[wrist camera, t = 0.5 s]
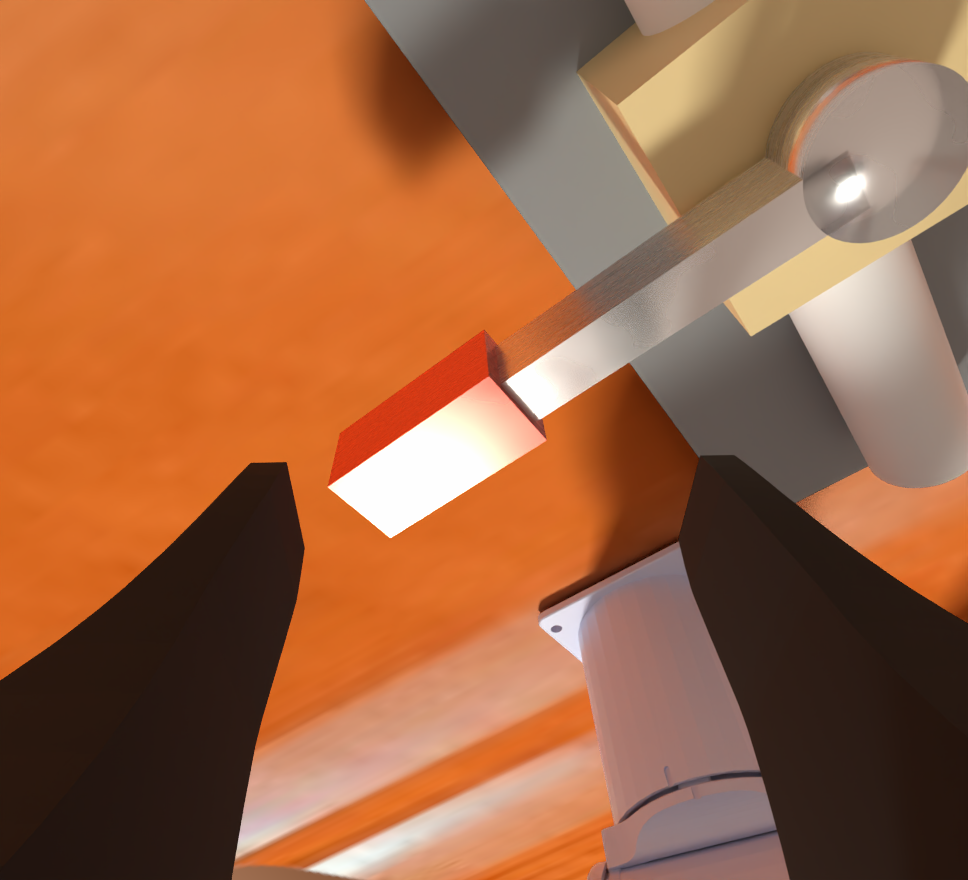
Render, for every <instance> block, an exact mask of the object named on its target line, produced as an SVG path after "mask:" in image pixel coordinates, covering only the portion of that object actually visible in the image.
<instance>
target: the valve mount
mask: <svg viewBox="0 0 968 880" xmlns="http://www.w3.org/2000/svg"><path fill="white" fill-rule="evenodd" d="M365 2H366V3H367V4H368V6H369V7H370V9H371V10H372V11H373V13H374V14H375V15H376V17H377V18H378V19H379V21H380V22H381V24H382V25H383V26H384V28H385V29H386V30H387V32H388V33H389V35H390V36H391V37H392V39H393V40H394V41H395V43H396V44H397V45H398V47H399V48H400V50H401V51H402V52H403V54H404V55H405V56H406V58H407V59H408V60H409V62H410V63H411V65H412V66H413V67H414V69H415V70H416V71H417V73H418V74H419V76H420V77H421V78H422V80H423V81H424V82H425V84H426V85H427V86H428V88H429V89H430V91H431V92H432V93H433V95H434V96H435V97H436V99H437V100H438V102H439V103H440V104H441V106H442V107H443V108H444V110H445V111H446V112H447V114H448V115H449V117H450V118H451V119H452V121H453V122H454V123H455V125H456V126H457V128H458V129H459V130H460V132H461V133H462V134H463V136H464V137H465V138H466V140H467V141H468V143H469V144H470V145H471V147H472V148H473V149H474V151H475V152H476V153H477V155H478V156H479V158H480V159H481V160H482V162H483V163H484V164H485V166H486V167H487V169H488V170H489V171H490V173H491V174H492V175H493V177H494V178H495V179H496V181H497V182H498V184H499V185H500V186H501V188H502V189H503V190H504V192H505V193H506V195H507V196H508V197H509V199H510V200H511V201H512V203H513V204H514V205H515V207H516V208H517V210H518V211H519V212H520V214H521V215H522V216H523V218H524V219H525V220H526V222H527V223H528V225H529V226H530V227H531V229H532V230H533V231H534V233H535V234H536V236H537V237H538V238H539V240H540V241H541V242H542V244H543V245H544V246H545V248H546V249H547V251H548V252H549V253H550V255H551V256H552V257H553V259H554V260H555V262H556V263H557V264H558V266H559V267H560V268H561V270H562V271H563V272H564V274H565V275H566V277H567V278H568V279H569V281H570V282H571V283H572V285H573V286H574V287H575V289H576V290H577V289H578V288H580V287H581V286H582V285H584V284H585V283H587V282H588V281H590V280H591V279H592V278H594V277H595V276H597V275H598V274H600V273H601V272H602V271H604V270H605V269H607V268H608V267H610V266H611V265H612V264H614V263H615V262H617V261H618V260H619V259H621V258H622V257H624V256H625V255H627V254H628V253H629V252H631V251H632V250H634V249H635V248H637V247H638V246H639V245H641V244H642V243H644V242H645V241H646V240H648V239H649V238H651V237H652V236H654V235H655V234H656V233H658V232H659V231H661V230H662V229H664V228H665V227H666V226H668V225H669V224H671V223H672V222H673V221H675V220H676V219H678V218H679V217H681V216H682V215H683V214H685V213H686V212H688V211H689V210H691V209H692V208H693V207H695V206H696V205H698V204H699V203H700V202H702V201H703V200H705V199H706V198H708V197H709V196H710V195H712V194H713V193H715V192H716V191H718V190H719V189H720V188H722V187H723V186H725V185H726V184H727V183H729V182H730V181H732V180H733V179H735V178H736V177H737V176H739V175H740V174H742V173H743V172H745V171H746V170H747V169H749V168H750V167H752V166H753V165H754V164H756V163H757V162H759V161H760V160H762V159H763V158H764V157H765V153H766V146H767V140H768V137H769V133H770V130H771V128H772V125H773V123H774V120H775V118H776V116H777V114H778V113H779V111H780V109H781V107H782V106H783V104H784V103H785V101H786V100H787V98H788V97H789V96H790V95H791V93H792V92H793V91H794V90H795V89H796V87H797V86H798V85H799V84H800V83H801V82H802V81H804V80H805V79H806V78H807V77H808V76H809V75H811V74H812V73H813V72H814V71H816V70H817V69H819V68H820V67H822V66H823V65H825V64H827V63H829V62H831V61H833V60H835V59H837V58H840V57H842V56H845V55H849V54H853V53H858V52H879V53H884V54H889V55H894V56H899V57H904V58H909V59H914V60H919V61H924V62H929V63H934V64H938V65H942V66H945V67H948V68H950V69H952V70H954V71H955V72H957V73H958V74H960V75H961V76H962V77H963V78H964V79H965V80H966V81H967V82H968V0H365ZM629 363H630V364H631V365H632V367H633V368H634V370H635V371H636V372H637V374H638V375H639V376H640V378H641V379H642V380H643V382H644V383H645V385H646V386H647V387H648V389H649V390H650V391H651V393H652V394H653V396H654V397H655V398H656V400H657V401H658V402H659V404H660V405H661V406H662V408H663V409H664V411H665V412H666V413H667V415H668V416H669V417H670V419H671V420H672V422H673V423H674V424H675V426H676V427H677V428H678V430H679V431H680V432H681V434H682V435H683V437H684V438H685V439H686V441H687V442H688V443H689V445H690V446H691V447H692V449H693V450H694V452H695V453H696V454H697V456H698V457H699V458H700V455H735V456H736V457H738V458H739V459H741V460H742V461H743V462H745V463H746V464H747V465H748V466H750V467H751V468H752V469H753V470H755V471H756V472H757V473H758V474H760V475H761V476H762V477H763V478H765V479H766V480H767V481H768V482H770V483H771V484H772V485H773V486H774V487H776V488H777V489H778V490H779V491H781V492H782V493H783V494H784V495H785V496H787V497H788V498H789V499H790V500H792V501H793V502H794V503H796V502H798V501H800V500H802V499H804V498H806V497H808V496H810V495H812V494H814V493H816V492H818V491H820V490H822V489H824V488H826V487H828V486H830V485H832V484H834V483H836V482H838V481H840V480H842V479H844V478H846V477H848V476H850V475H852V474H854V473H856V472H858V471H859V470H861V469H863V468H865V467H867V466H869V468H870V469H871V471H872V472H873V473H874V474H875V475H876V476H877V477H878V478H880V479H881V480H883V481H885V482H887V483H889V484H892V485H895V486H899V487H905V488H924V487H931V486H936V485H940V484H943V483H946V482H948V481H951V480H953V479H955V478H957V477H959V476H960V475H962V474H963V473H965V472H966V471H967V470H968V167H967V169H966V171H965V173H964V174H963V176H962V178H961V179H960V181H959V182H958V184H957V185H956V187H955V188H954V189H953V191H952V192H951V193H950V194H949V196H948V197H947V198H946V199H945V200H944V201H943V202H942V203H941V204H940V205H939V206H938V207H937V208H936V209H935V210H934V211H933V212H932V213H931V214H929V215H928V216H927V217H926V218H925V219H923V220H922V221H920V222H919V223H917V224H916V225H914V226H913V227H911V228H909V229H908V230H906V231H904V232H902V233H900V234H897V235H895V236H893V237H890V238H887V239H884V240H881V241H876V242H871V243H848V242H843V241H839V240H837V239H834V238H832V237H830V236H826V237H825V238H823V239H822V240H820V241H818V242H817V243H815V244H814V245H812V246H811V247H809V248H807V249H806V250H804V251H803V252H801V253H800V254H798V255H797V256H795V257H793V258H792V259H790V260H789V261H787V262H786V263H784V264H782V265H781V266H779V267H778V268H776V269H775V270H773V271H771V272H770V273H768V274H767V275H765V276H764V277H762V278H761V279H759V280H757V281H756V282H754V283H753V284H751V285H750V286H748V287H746V288H745V289H743V290H742V291H740V292H739V293H737V294H735V295H734V296H732V297H731V298H729V299H728V300H726V301H725V302H723V303H721V304H720V305H718V306H717V307H715V308H714V309H712V310H710V311H709V312H707V313H706V314H704V315H703V316H701V317H699V318H698V319H696V320H695V321H693V322H692V323H690V324H688V325H687V326H685V327H684V328H682V329H681V330H679V331H678V332H676V333H674V334H673V335H671V336H670V337H668V338H667V339H665V340H663V341H662V342H660V343H659V344H657V345H656V346H654V347H652V348H651V349H649V350H648V351H646V352H645V353H643V354H642V355H640V356H638V357H637V358H635V359H634V360H632V361H631V362H629Z"/></svg>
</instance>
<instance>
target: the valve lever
mask: <svg viewBox="0 0 968 880" xmlns="http://www.w3.org/2000/svg"><path fill="white" fill-rule="evenodd" d="M967 167H968V82H967V81H966V80H965V79H964V78H963V77H962V76H961V75H960V74H958V73H957V72H955V71H954V70H952V69H950V68H948V67H945V66H942V65H938V64H934V63H929V62H924V61H919V60H914V59H909V58H904V57H899V56H894V55H889V54H884V53H879V52H858V53H853V54H849V55H845V56H842V57H840V58H837V59H835V60H833V61H831V62H829V63H827V64H825V65H823V66H822V67H820V68H819V69H817V70H816V71H814V72H813V73H812V74H811V75H809V76H808V77H807V78H806V79H805V80H804V81H802V82H801V83H800V84H799V85H798V86H797V87H796V89H795V90H794V91H793V92H792V93H791V95H790V96H789V97H788V98H787V100H786V101H785V103H784V104H783V106H782V107H781V109H780V111H779V113H778V114H777V116H776V118H775V120H774V123H773V125H772V128H771V130H770V133H769V137H768V140H767V146H766V153H765V157H764V158H763V159H762V160H760V161H759V162H757V163H756V164H754V165H753V166H752V167H750V168H749V169H747V170H746V171H745V172H743V173H742V174H740V175H739V176H737V177H736V178H735V179H733V180H732V181H730V182H729V183H727V184H726V185H725V186H723V187H722V188H720V189H719V190H718V191H716V192H715V193H713V194H712V195H710V196H709V197H708V198H706V199H705V200H703V201H702V202H700V203H699V204H698V205H696V206H695V207H693V208H692V209H691V210H689V211H688V212H686V213H685V214H683V215H682V216H681V217H679V218H678V219H676V220H675V221H673V222H672V223H671V224H669V225H668V226H666V227H665V228H664V229H662V230H661V231H659V232H658V233H656V234H655V235H654V236H652V237H651V238H649V239H648V240H646V241H645V242H644V243H642V244H641V245H639V246H638V247H637V248H635V249H634V250H632V251H631V252H629V253H628V254H627V255H625V256H624V257H622V258H621V259H619V260H618V261H617V262H615V263H614V264H612V265H611V266H610V267H608V268H607V269H605V270H604V271H602V272H601V273H600V274H598V275H597V276H595V277H594V278H592V279H591V280H590V281H588V282H587V283H585V284H584V285H582V286H581V287H580V288H578V289H577V290H575V291H574V292H573V293H571V294H570V295H568V296H567V297H565V298H564V299H563V300H561V301H560V302H558V303H557V304H555V305H554V306H553V307H551V308H550V309H548V310H547V311H546V312H544V313H543V314H541V315H540V316H538V317H537V318H536V319H534V320H533V321H531V322H530V323H528V324H527V325H526V326H524V327H523V328H521V329H520V330H519V331H517V332H516V333H514V334H513V335H511V336H510V337H509V338H507V339H506V340H504V341H503V342H501V343H500V344H499V345H497V344H496V343H495V342H494V341H493V339H492V338H491V337H490V336H489V335H488V334H487V332H486V331H485V330H483V331H482V332H480V333H479V334H477V335H476V336H475V337H473V338H472V339H470V340H469V341H468V342H466V343H465V344H463V345H462V346H461V347H459V348H458V349H457V350H455V351H454V352H452V353H451V354H450V355H448V356H447V357H445V358H444V359H443V360H441V361H440V362H438V363H437V364H436V365H434V366H433V367H432V368H430V369H429V370H427V371H426V372H425V373H423V374H422V375H420V376H419V377H418V378H416V379H415V380H413V381H412V382H411V383H409V384H408V385H407V386H405V387H404V388H402V389H401V390H400V391H398V392H397V393H395V394H394V395H393V396H391V397H390V398H388V399H387V400H386V401H384V402H383V403H382V404H380V405H379V406H377V407H376V408H375V409H373V410H372V411H370V412H369V413H368V414H366V415H365V416H363V417H362V418H361V419H359V420H358V421H356V422H355V423H354V424H352V425H351V426H350V427H348V428H347V429H345V430H344V431H343V432H341V433H340V436H339V440H338V445H337V449H336V453H335V458H334V462H333V467H332V471H331V475H330V480H329V484H328V488H330V489H331V490H332V491H333V492H335V493H336V494H337V495H338V496H340V497H341V498H342V499H343V500H345V501H346V502H347V503H348V504H350V505H351V506H352V507H353V508H354V509H356V510H357V511H358V512H359V513H361V514H362V515H363V516H364V517H366V518H367V519H368V520H369V521H371V522H372V523H373V524H374V525H376V526H377V527H378V528H379V529H381V530H382V531H383V532H384V533H386V534H387V535H388V536H389V537H390V538H391V537H392V536H394V535H395V534H397V533H399V532H400V531H402V530H403V529H405V528H407V527H408V526H410V525H411V524H413V523H415V522H416V521H418V520H419V519H421V518H423V517H424V516H426V515H428V514H429V513H431V512H432V511H434V510H436V509H437V508H439V507H440V506H442V505H444V504H445V503H447V502H448V501H450V500H452V499H453V498H455V497H456V496H458V495H460V494H461V493H463V492H464V491H466V490H468V489H469V488H471V487H472V486H474V485H476V484H477V483H479V482H480V481H482V480H484V479H485V478H487V477H488V476H490V475H492V474H493V473H495V472H497V471H498V470H500V469H501V468H503V467H505V466H506V465H508V464H509V463H511V462H513V461H514V460H516V459H517V458H519V457H521V456H522V455H524V454H525V453H527V452H529V451H530V450H532V449H533V448H535V447H537V446H538V445H540V444H541V443H543V442H545V441H546V435H545V430H544V425H543V421H542V418H543V417H544V416H546V415H548V414H549V413H551V412H552V411H554V410H555V409H557V408H559V407H560V406H562V405H563V404H565V403H566V402H568V401H569V400H571V399H573V398H574V397H576V396H577V395H579V394H580V393H582V392H584V391H585V390H587V389H588V388H590V387H591V386H593V385H595V384H596V383H598V382H599V381H601V380H602V379H604V378H606V377H607V376H609V375H610V374H612V373H613V372H615V371H616V370H618V369H620V368H621V367H623V366H624V365H626V364H627V363H629V362H631V361H632V360H634V359H635V358H637V357H638V356H640V355H642V354H643V353H645V352H646V351H648V350H649V349H651V348H652V347H654V346H656V345H657V344H659V343H660V342H662V341H663V340H665V339H667V338H668V337H670V336H671V335H673V334H674V333H676V332H678V331H679V330H681V329H682V328H684V327H685V326H687V325H688V324H690V323H692V322H693V321H695V320H696V319H698V318H699V317H701V316H703V315H704V314H706V313H707V312H709V311H710V310H712V309H714V308H715V307H717V306H718V305H720V304H721V303H723V302H725V301H726V300H728V299H729V298H731V297H732V296H734V295H735V294H737V293H739V292H740V291H742V290H743V289H745V288H746V287H748V286H750V285H751V284H753V283H754V282H756V281H757V280H759V279H761V278H762V277H764V276H765V275H767V274H768V273H770V272H771V271H773V270H775V269H776V268H778V267H779V266H781V265H782V264H784V263H786V262H787V261H789V260H790V259H792V258H793V257H795V256H797V255H798V254H800V253H801V252H803V251H804V250H806V249H807V248H809V247H811V246H812V245H814V244H815V243H817V242H818V241H820V240H822V239H823V238H825V237H826V236H830V237H832V238H834V239H837V240H839V241H843V242H848V243H871V242H876V241H881V240H884V239H887V238H890V237H893V236H895V235H897V234H900V233H902V232H904V231H906V230H908V229H909V228H911V227H913V226H914V225H916V224H917V223H919V222H920V221H922V220H923V219H925V218H926V217H927V216H928V215H929V214H931V213H932V212H933V211H934V210H935V209H936V208H937V207H938V206H939V205H940V204H941V203H942V202H943V201H944V200H945V199H946V198H947V197H948V196H949V194H950V193H951V192H952V191H953V189H954V188H955V187H956V185H957V184H958V182H959V181H960V179H961V178H962V176H963V174H964V173H965V171H966V169H967Z"/></svg>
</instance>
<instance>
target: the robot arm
mask: <svg viewBox="0 0 968 880" xmlns="http://www.w3.org/2000/svg"><path fill="white" fill-rule="evenodd" d="M304 549H305V547H304V543H303V538H302V533H301V528H300V524H299V519H298V514H297V509H296V505H295V500H294V495H293V490H292V486H291V481H290V476H289V471H288V466H287V462H275V463H250V464H249V465H248V466H247V467H246V468H245V469H244V470H243V471H242V472H241V473H240V474H239V475H238V476H237V477H236V478H235V479H234V480H233V481H232V483H231V484H230V485H229V486H228V487H227V488H226V489H225V490H224V491H223V492H222V493H221V494H220V495H219V496H218V497H217V498H216V499H215V500H214V501H213V502H212V504H211V505H210V506H209V507H208V508H207V509H206V510H205V511H204V512H203V513H202V514H201V515H200V516H199V517H198V518H197V519H196V520H195V521H194V522H193V523H192V524H191V525H190V526H189V527H188V528H187V529H186V530H185V531H184V532H183V533H182V534H181V535H180V536H179V537H178V538H177V539H176V540H175V541H174V542H173V543H172V544H171V545H170V546H169V547H168V548H167V549H166V550H165V551H164V552H163V553H162V554H161V555H160V556H159V557H157V558H156V559H155V560H154V561H153V562H152V563H151V564H150V565H149V566H148V567H147V568H145V569H144V570H143V571H142V572H141V573H140V574H139V575H138V576H137V577H136V578H135V579H133V580H132V581H131V582H130V583H129V584H128V585H127V586H126V587H125V588H123V589H122V590H121V591H120V592H119V593H118V594H116V595H115V596H114V597H113V598H112V599H110V600H109V601H108V602H107V603H106V604H104V605H103V606H102V607H101V608H99V609H98V610H97V611H96V612H94V613H93V614H92V615H91V616H89V617H88V618H87V619H85V620H84V621H83V622H82V623H80V624H79V625H78V626H76V627H75V628H74V629H73V630H71V631H70V632H69V633H67V634H66V635H65V636H63V637H62V638H61V639H59V640H58V641H57V642H55V643H54V644H53V645H51V646H50V647H48V648H47V649H45V650H44V651H42V652H41V653H40V654H38V655H37V656H35V657H34V658H32V659H31V660H29V661H28V662H27V663H25V664H24V665H22V666H21V667H19V668H18V669H16V670H15V671H13V672H12V673H11V674H9V675H8V676H6V677H5V678H3V679H2V680H0V880H232V873H233V867H234V861H235V855H236V850H237V844H238V838H239V832H240V826H241V820H242V814H243V808H244V803H245V798H246V792H247V787H248V782H249V776H250V771H251V766H252V760H253V755H254V750H255V745H256V741H257V737H258V733H259V729H260V725H261V721H262V717H263V714H264V711H265V707H266V704H267V700H268V697H269V694H270V690H271V687H272V683H273V680H274V677H275V673H276V670H277V666H278V663H279V660H280V656H281V653H282V649H283V646H284V643H285V639H286V636H287V632H288V629H289V625H290V622H291V618H292V615H293V611H294V608H295V604H296V600H297V594H298V588H299V582H300V576H301V570H302V563H303V556H304ZM538 621H539V626H540V627H541V628H542V629H543V630H544V631H546V632H547V633H548V634H549V635H550V636H552V637H553V638H554V639H555V640H556V641H557V642H559V643H560V644H561V645H562V646H563V647H564V648H566V649H567V650H568V651H569V652H570V653H572V654H573V655H574V656H575V657H576V658H577V659H579V660H580V661H581V662H582V663H583V667H584V672H585V678H586V683H587V688H588V693H589V698H590V703H591V708H592V713H593V718H594V724H595V729H596V734H597V739H598V744H599V749H600V754H601V759H602V764H603V770H604V775H605V780H606V785H607V790H608V795H609V800H610V805H611V811H612V816H613V821H614V826H611V827H608V828H605V829H603V830H602V831H601V833H602V838H603V844H604V850H605V856H606V862H600V863H597V864H595V865H594V866H593V867H592V868H591V870H590V872H589V874H588V877H587V880H968V623H966V622H965V621H963V620H961V619H959V618H958V617H956V616H954V615H953V614H951V613H949V612H948V611H946V610H945V609H943V608H941V607H940V606H938V605H937V604H935V603H933V602H932V601H930V600H928V599H927V598H925V597H924V596H922V595H920V594H919V593H917V592H916V591H914V590H912V589H911V588H909V587H908V586H906V585H905V584H903V583H902V582H900V581H899V580H897V579H896V578H894V577H893V576H891V575H890V574H888V573H887V572H886V571H884V570H883V569H881V568H880V567H879V566H877V565H876V564H874V563H873V562H871V561H870V560H869V559H867V558H866V557H864V556H863V555H862V554H860V553H859V552H857V551H856V550H855V549H853V548H852V547H851V546H849V545H848V544H847V543H845V542H844V541H843V540H841V539H840V538H839V537H837V536H836V535H835V534H833V533H832V532H831V531H829V530H828V529H827V528H826V527H824V526H823V525H822V524H820V523H819V522H818V521H817V520H815V519H814V518H813V517H812V516H810V515H809V514H808V513H806V512H805V511H804V510H803V509H802V508H800V507H799V506H798V505H797V504H795V503H794V502H793V501H792V500H790V499H789V498H788V497H787V496H785V495H784V494H783V493H782V492H781V491H779V490H778V489H777V488H776V487H774V486H773V485H772V484H771V483H770V482H768V481H767V480H766V479H765V478H763V477H762V476H761V475H760V474H758V473H757V472H756V471H755V470H753V469H752V468H751V467H750V466H748V465H747V464H746V463H745V462H743V461H742V460H741V459H739V458H738V457H736V456H735V455H700V458H699V462H698V466H697V470H696V473H695V477H694V481H693V485H692V489H691V493H690V497H689V500H688V504H687V508H686V512H685V516H684V520H683V524H682V527H681V531H680V535H679V539H678V542H676V543H674V544H672V545H671V546H669V547H667V548H665V549H663V550H661V551H659V552H657V553H655V554H653V555H651V556H649V557H647V558H645V559H643V560H642V561H640V562H638V563H636V564H634V565H632V566H630V567H628V568H626V569H624V570H622V571H620V572H618V573H616V574H615V575H613V576H611V577H609V578H607V579H605V580H603V581H601V582H599V583H597V584H595V585H593V586H591V587H589V588H587V589H586V590H584V591H582V592H580V593H578V594H576V595H574V596H572V597H570V598H568V599H566V600H564V601H562V602H560V603H559V604H557V605H555V606H553V607H551V608H549V609H547V610H545V611H543V612H542V613H540V614H539V616H538Z"/></svg>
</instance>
